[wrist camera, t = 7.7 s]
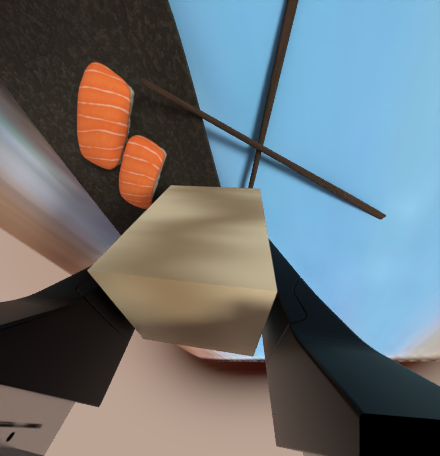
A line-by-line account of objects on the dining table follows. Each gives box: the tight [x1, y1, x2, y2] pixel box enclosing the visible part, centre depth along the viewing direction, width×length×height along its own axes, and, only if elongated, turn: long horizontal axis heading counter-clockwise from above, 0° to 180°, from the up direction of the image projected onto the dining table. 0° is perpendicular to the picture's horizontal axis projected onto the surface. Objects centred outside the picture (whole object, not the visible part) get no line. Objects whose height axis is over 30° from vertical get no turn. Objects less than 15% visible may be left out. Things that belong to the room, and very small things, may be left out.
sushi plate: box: [0, 0, 386, 235], centre depth 15 cm, size 29×30×4 cm
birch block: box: [87, 185, 277, 356], centre depth 8 cm, size 5×5×6 cm
